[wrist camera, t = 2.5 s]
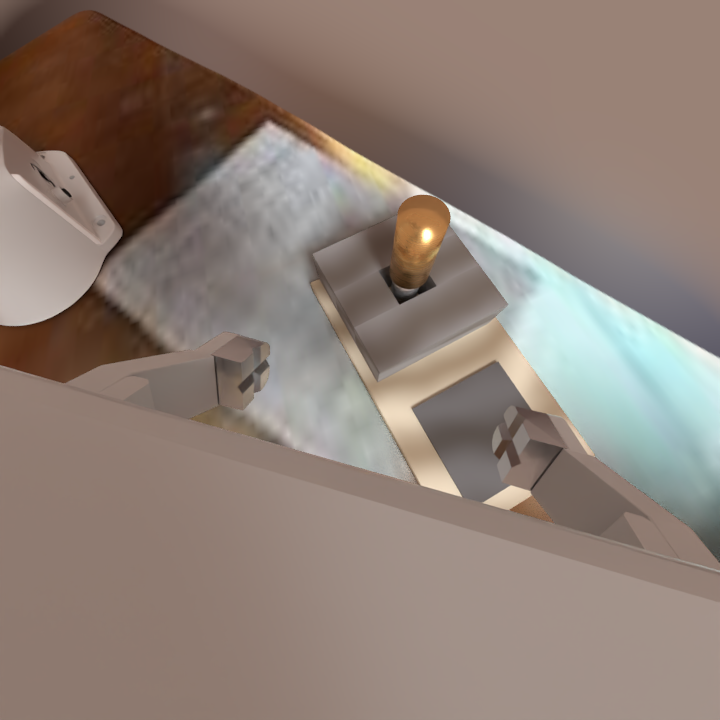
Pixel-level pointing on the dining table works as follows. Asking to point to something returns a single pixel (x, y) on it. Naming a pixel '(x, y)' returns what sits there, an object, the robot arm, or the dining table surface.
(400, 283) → the amber rounded cylinder
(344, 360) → the dining table surface
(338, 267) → the stand
